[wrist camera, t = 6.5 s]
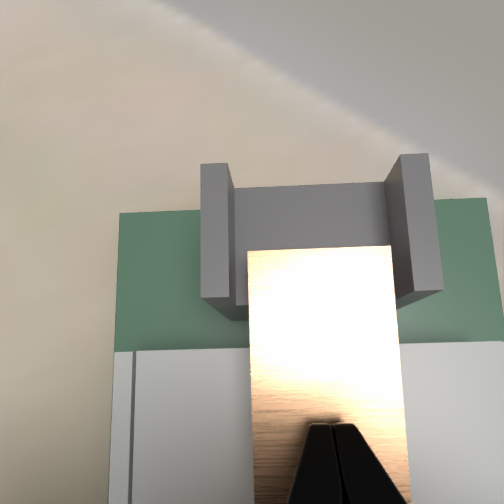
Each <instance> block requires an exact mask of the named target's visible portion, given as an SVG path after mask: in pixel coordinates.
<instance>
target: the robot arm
mask: <svg viewBox="0 0 504 504" xmlns="http://www.w3.org/2000/svg"><path fill="white" fill-rule="evenodd" d="M286 504H407V502H406V501H405V499H404V498H403V496H402V494H401V493H400V491H399V490H398V488H397V487H396V485H395V484H394V482H393V481H392V479H391V478H390V476H389V475H388V473H387V472H386V470H385V469H384V467H383V466H382V464H381V463H380V461H379V460H378V458H377V457H376V455H375V454H374V452H373V451H372V449H371V448H370V446H369V445H368V443H367V442H366V440H365V439H364V437H363V435H362V434H361V432H360V431H359V429H358V428H357V427H356V426H355V424H353V423H334V424H333V425H332V426H331V424H329V423H312V424H311V425H310V426H309V428H308V432H307V435H306V439H305V442H304V445H303V449H302V452H301V456H300V459H299V462H298V466H297V469H296V473H295V476H294V479H293V483H292V486H291V489H290V493H289V496H288V500H287V503H286Z"/></svg>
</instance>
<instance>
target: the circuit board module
mask: <svg viewBox="0 0 504 504" xmlns="http://www.w3.org/2000/svg"><path fill="white" fill-rule="evenodd" d="M371 246H391V256H392V269H393V281H394V293H395V306H396V318H397V331H398V343H399V355H400V368H401V380H402V392H403V405H404V417H405V429H406V442H407V454H408V467H409V479H410V491H411V504H504V316H503V309H502V302H501V295H500V288H499V282H498V275H497V268H496V261H495V254H494V247H493V241H492V234H491V227H490V220H489V213H488V206H487V200H486V198H467V199H443V200H434V198H433V189H432V181H431V173H430V164H429V156H428V153H422V154H401V155H400V156H399V158H398V159H397V161H396V163H395V164H394V166H393V168H392V169H391V171H390V173H389V174H388V176H387V178H386V179H385V181H384V182H366V183H344V184H321V185H299V186H276V187H254V188H234V186H233V182H232V179H231V175H230V171H229V167H228V164H227V163H212V164H201V210H184V211H161V212H137V213H120V217H119V242H118V266H117V290H116V315H115V339H114V364H113V388H112V412H111V437H110V461H109V486H108V504H254V473H253V436H252V399H251V362H250V325H249V288H248V251H265V250H291V249H318V248H344V247H371Z"/></svg>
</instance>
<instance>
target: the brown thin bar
mask: <svg viewBox="0 0 504 504" xmlns="http://www.w3.org/2000/svg"><path fill="white" fill-rule="evenodd" d="M248 288H249V325H250V362H251V399H252V436H253V473H254V504H286V503H287V500H288V496H289V493H290V489H291V486H292V483H293V479H294V476H295V473H296V469H297V466H298V462H299V459H300V456H301V452H302V449H303V445H304V442H305V439H306V435H307V432H308V428H309V426H310V425H311V424H312V423H329V424H331V426H332V425H333V424H334V423H353V424H355V426H356V427H357V428H358V429H359V431H360V432H361V434H362V435H363V437H364V439H365V440H366V442H367V443H368V445H369V446H370V448H371V449H372V451H373V452H374V454H375V455H376V457H377V458H378V460H379V461H380V463H381V464H382V466H383V467H384V469H385V470H386V472H387V473H388V475H389V476H390V478H391V479H392V481H393V482H394V484H395V485H396V487H397V488H398V490H399V491H400V493H401V494H402V496H403V498H404V499H405V501H406V502H407V504H411V491H410V479H409V467H408V454H407V442H406V429H405V417H404V405H403V392H402V380H401V368H400V355H399V343H398V331H397V318H396V306H395V293H394V281H393V269H392V256H391V246H371V247H344V248H318V249H291V250H265V251H248Z"/></svg>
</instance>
